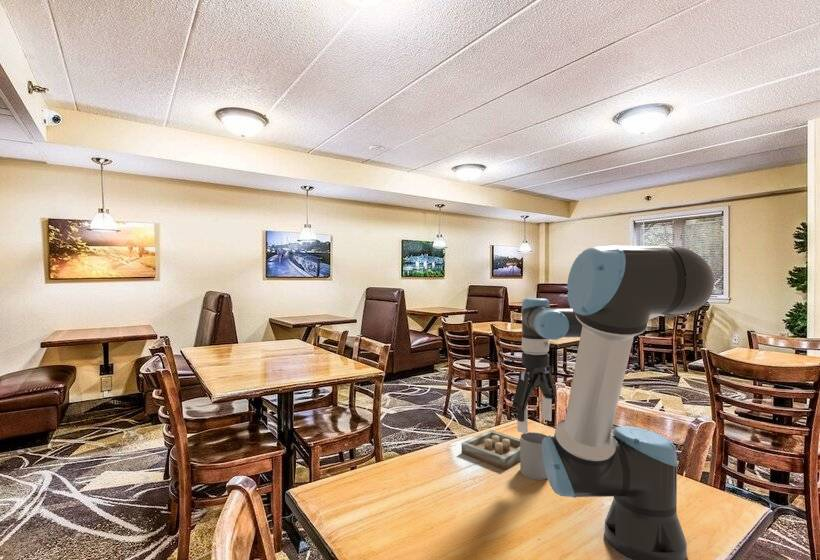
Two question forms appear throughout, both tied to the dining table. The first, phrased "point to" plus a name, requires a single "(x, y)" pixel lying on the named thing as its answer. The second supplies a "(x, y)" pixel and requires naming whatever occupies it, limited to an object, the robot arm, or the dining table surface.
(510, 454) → the grey square tray
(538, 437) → the cup
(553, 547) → the dining table surface
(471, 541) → the dining table surface
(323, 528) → the dining table surface
